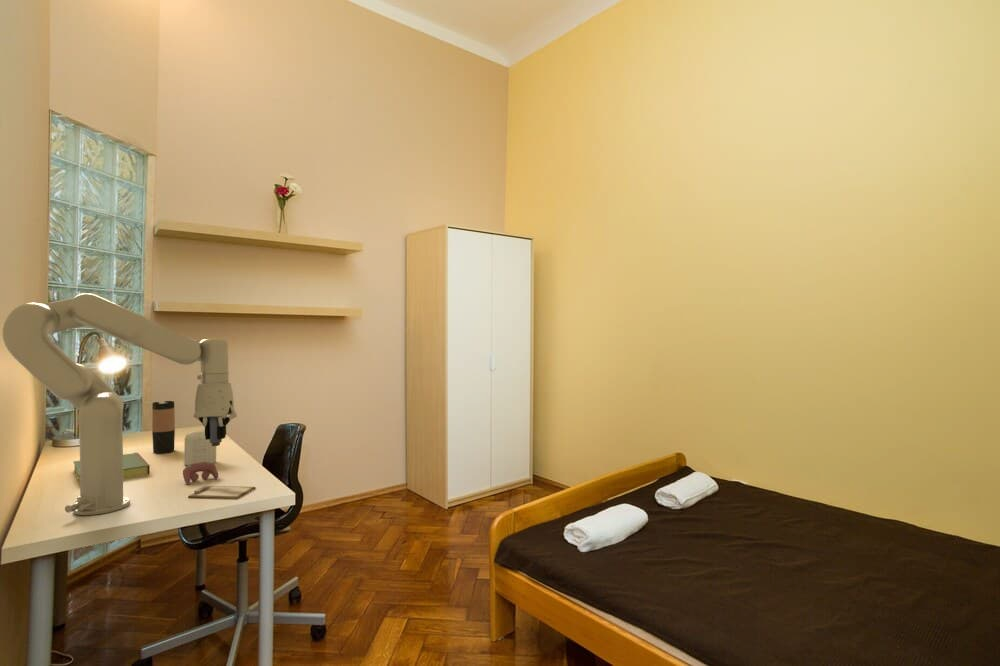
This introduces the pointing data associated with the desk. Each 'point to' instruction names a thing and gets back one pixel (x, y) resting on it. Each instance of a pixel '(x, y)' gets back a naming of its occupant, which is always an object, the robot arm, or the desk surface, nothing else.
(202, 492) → the clipboard
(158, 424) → the travel mug
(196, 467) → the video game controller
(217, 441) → the marker
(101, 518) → the desk surface
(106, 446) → the robot arm
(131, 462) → the hardcover book
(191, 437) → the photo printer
